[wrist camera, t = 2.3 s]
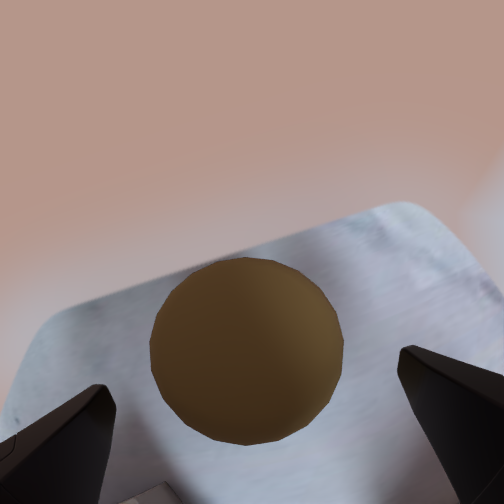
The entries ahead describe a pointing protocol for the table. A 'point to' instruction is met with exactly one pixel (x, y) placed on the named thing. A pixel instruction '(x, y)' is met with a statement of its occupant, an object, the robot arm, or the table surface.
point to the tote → (155, 496)
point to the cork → (246, 351)
